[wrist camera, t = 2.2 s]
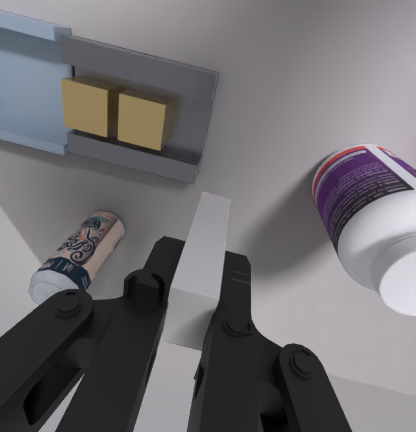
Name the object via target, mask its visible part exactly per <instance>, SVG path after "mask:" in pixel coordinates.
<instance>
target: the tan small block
mask: <svg viewBox="0 0 416 432" xmlns="http://www.w3.org/2000/svg"><path fill="white" fill-rule="evenodd" d="M61 85H62V98H63V112H64V125H65V127H69V128H73V129H77V130H81V131H85V132H89V133H92V134H96V135H100V136H104V137H108V136H110V135H112V134H113V133H115V132H116V131H118V115H119V93H122V86H119V85H115V84H112V83H108V82H104V81H100V80H96V79H92V78H88V77H84V76H74V77H68V78H61Z"/></svg>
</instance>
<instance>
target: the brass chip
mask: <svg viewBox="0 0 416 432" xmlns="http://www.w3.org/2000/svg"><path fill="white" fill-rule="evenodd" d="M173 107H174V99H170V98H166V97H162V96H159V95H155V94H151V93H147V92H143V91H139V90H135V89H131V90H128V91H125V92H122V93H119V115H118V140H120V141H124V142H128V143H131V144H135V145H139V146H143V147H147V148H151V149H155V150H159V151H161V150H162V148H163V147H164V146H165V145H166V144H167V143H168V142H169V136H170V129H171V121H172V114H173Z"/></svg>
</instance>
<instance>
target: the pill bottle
mask: <svg viewBox="0 0 416 432" xmlns="http://www.w3.org/2000/svg"><path fill="white" fill-rule="evenodd" d="M312 195H313V199H314V202H315V204H316V206H317V208H318V211H319V213H320V216H321V218H322V220H323V222H324V225H325V227H326V229H327V232H328V234H329V236H330V239H331V241H332V243H333V246H334V248H335V250H336V253H337V255H338V258H339V260H340V262H341V264H342V266H343V268H344V269H345V271H346V272H347V273H348V275H349V276H350V277H351V278H353V279H354V280H355V281H356V282H358V283H359V284H361V285H363V286H364V287H367V288H369V289H372V290H375V291H377V293H378V294H379V296H380V298H381V300H382V301H383V302H384V303H385V304H386V305H387V306H388V307H389V308H391V309H392V310H394V311H396V312H399V313H401V314H405V315H410V316H416V170H415V169H414V168H412V167H411V166H409V165H408V164H407V163H405V162H404V161H403V160H401V159H400V158H399V157H397V156H396V155H395V154H393V153H392V152H390V151H389V150H387V149H385V148H383V147H381V146H377V145H373V144H357V145H352V146H348V147H345V148H343V149H341V150H339V151H337V152H335V153H334V154H332V155H331V156H329V157H328V158H327V159H326V160H325V161H324V162H323V163H322V164H321V166H320V167H319V168H318V170H317V172H316V174H315V176H314V179H313V183H312Z"/></svg>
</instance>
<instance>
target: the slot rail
mask: <svg viewBox="0 0 416 432" xmlns="http://www.w3.org/2000/svg"><path fill="white" fill-rule="evenodd" d="M60 42H61V56H62V63H64V64H68V65H72V66H75V76H84V77H88V78H92V79H96V80H100V81H104V82H108V83H112V84H115V85H119V86H122V92H125V91H128V90H131V89H135V90H139V91H143V92H147V93H151V94H155V95H159V96H162V97H166V98H170V99H174V107H173V114H172V121H171V129H170V136H169V142H168V143H167V144H166V145H165V146H164V147H163V148H162V150H161V151H159V150H155V149H151V148H147V147H143V146H139V145H135V144H131V143H128V142H124V141H120V140H118V131H116V132H115V133H113V134H112V135H110V136H108V137H104V136H100V135H96V134H92V133H89V132H85V131H81V130H77V129H74V130H72V131H69V132H67V139H68V152H70V153H73V154H77V155H81V156H85V157H89V158H93V159H97V160H101V161H105V162H109V163H112V164H116V165H120V166H124V167H128V168H132V169H136V170H140V171H144V172H148V173H151V174H155V175H159V176H163V177H167V178H171V179H175V180H179V181H183V182H187V183H190V184H194V183H195V180H196V178H197V176H198V172H199V167H200V163H201V158H202V153H203V148H204V144H205V139H206V134H207V129H208V124H209V120H210V115H211V110H212V105H213V101H214V96H215V91H216V86H217V81H218V77H219V72H215V71H211V70H207V69H203V68H199V67H195V66H191V65H187V64H183V63H179V62H175V61H172V60H168V59H164V58H160V57H156V56H152V55H148V54H144V53H140V52H136V51H132V50H128V49H124V48H121V47H117V46H113V45H109V44H105V43H101V42H97V41H93V40H89V39H85V38H81V37H77V36H64V35H60Z"/></svg>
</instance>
